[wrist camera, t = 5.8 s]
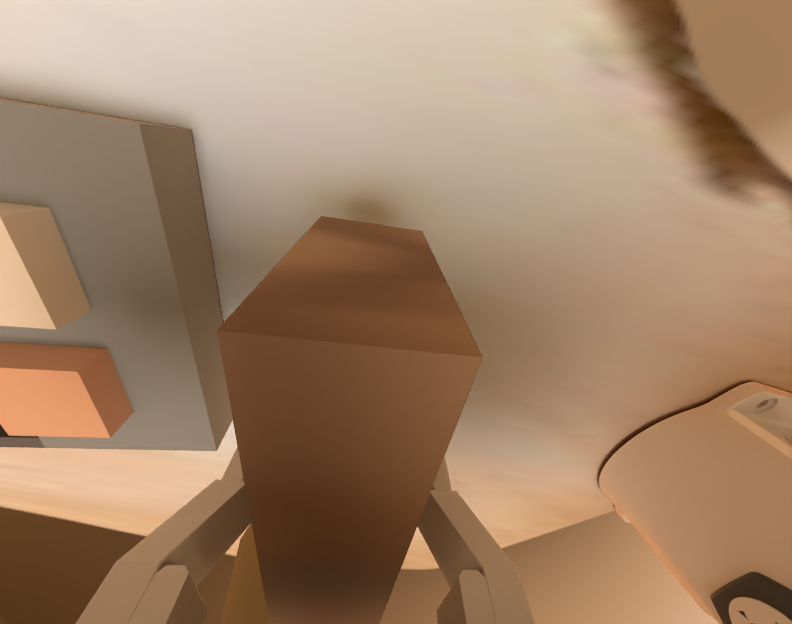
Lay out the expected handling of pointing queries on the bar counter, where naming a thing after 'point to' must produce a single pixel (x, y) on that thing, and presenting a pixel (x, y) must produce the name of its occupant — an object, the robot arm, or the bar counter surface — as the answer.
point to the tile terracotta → (60, 391)
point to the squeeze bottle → (246, 587)
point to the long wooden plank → (343, 413)
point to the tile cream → (36, 271)
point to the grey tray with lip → (126, 266)
